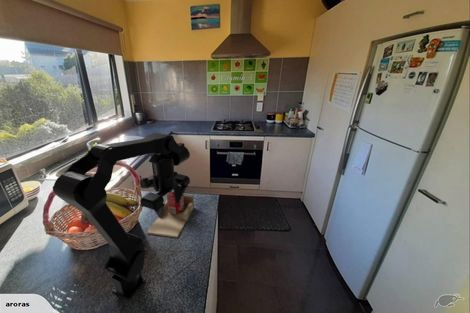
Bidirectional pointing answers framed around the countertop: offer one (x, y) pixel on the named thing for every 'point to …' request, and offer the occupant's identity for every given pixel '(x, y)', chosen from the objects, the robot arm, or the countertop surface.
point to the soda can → (174, 203)
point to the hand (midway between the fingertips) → (169, 210)
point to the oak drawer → (172, 220)
